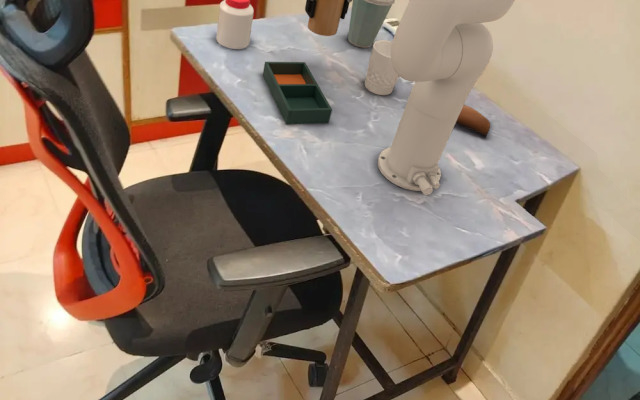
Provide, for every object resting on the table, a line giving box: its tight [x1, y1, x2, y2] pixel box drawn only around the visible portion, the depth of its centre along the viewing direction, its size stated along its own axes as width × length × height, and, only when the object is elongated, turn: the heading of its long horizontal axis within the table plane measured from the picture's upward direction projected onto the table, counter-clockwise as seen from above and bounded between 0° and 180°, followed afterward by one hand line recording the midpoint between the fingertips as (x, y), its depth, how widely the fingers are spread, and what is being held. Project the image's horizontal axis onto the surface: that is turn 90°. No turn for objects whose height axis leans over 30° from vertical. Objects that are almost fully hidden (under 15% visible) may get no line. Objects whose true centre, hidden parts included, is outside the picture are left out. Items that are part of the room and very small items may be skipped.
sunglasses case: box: [455, 104, 491, 137], centre depth 133 cm, size 18×7×7 cm
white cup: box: [364, 39, 400, 96], centre depth 134 cm, size 8×8×10 cm
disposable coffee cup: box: [347, 0, 396, 49], centre depth 148 cm, size 11×11×15 cm
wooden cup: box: [307, 0, 344, 37], centre depth 130 cm, size 7×7×10 cm
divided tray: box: [262, 61, 333, 126], centre depth 126 cm, size 9×18×4 cm, turn 20°
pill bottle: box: [216, 0, 255, 50], centre depth 136 cm, size 8×8×11 cm
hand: (325, 15), depth 131 cm, fingers closed on wooden cup, 6 cm apart
